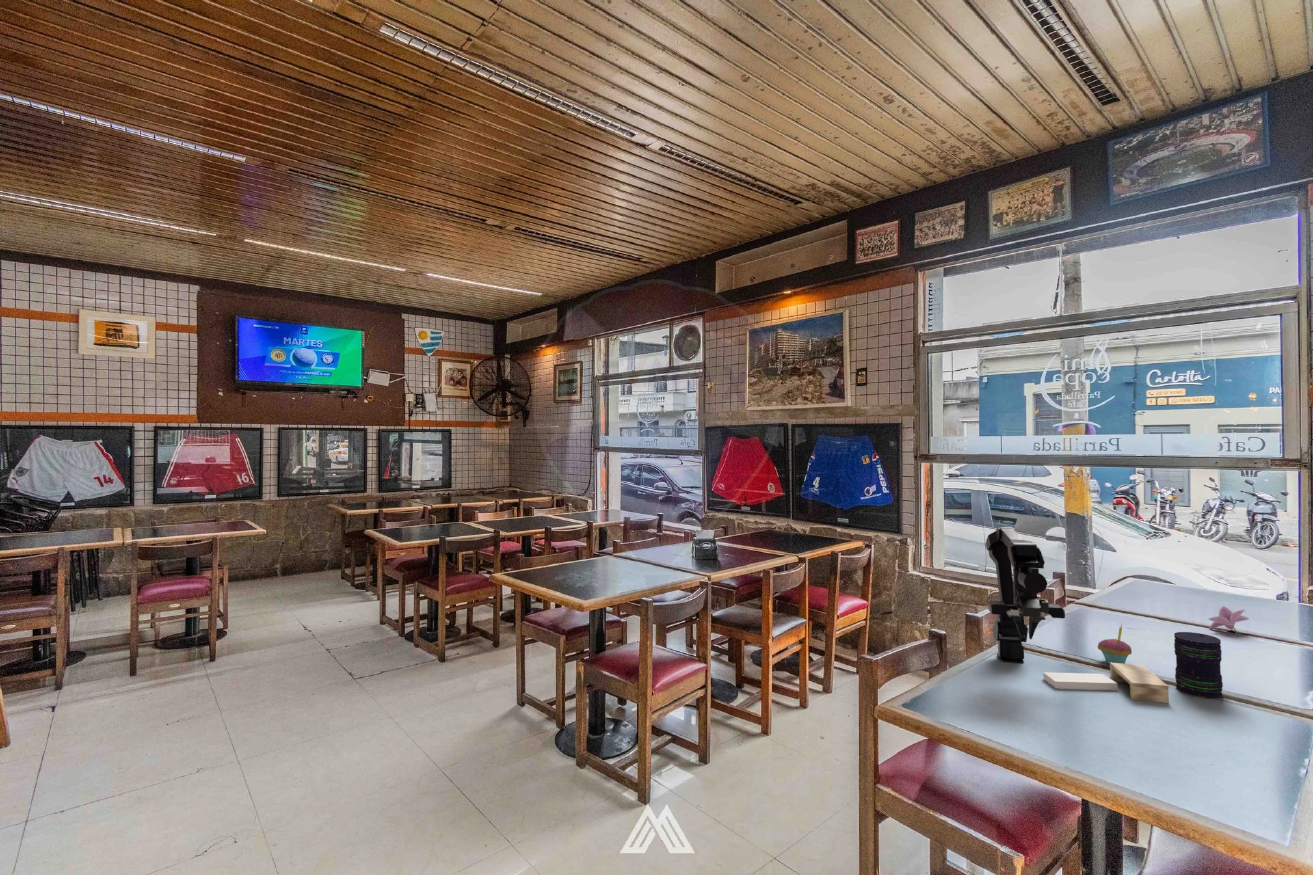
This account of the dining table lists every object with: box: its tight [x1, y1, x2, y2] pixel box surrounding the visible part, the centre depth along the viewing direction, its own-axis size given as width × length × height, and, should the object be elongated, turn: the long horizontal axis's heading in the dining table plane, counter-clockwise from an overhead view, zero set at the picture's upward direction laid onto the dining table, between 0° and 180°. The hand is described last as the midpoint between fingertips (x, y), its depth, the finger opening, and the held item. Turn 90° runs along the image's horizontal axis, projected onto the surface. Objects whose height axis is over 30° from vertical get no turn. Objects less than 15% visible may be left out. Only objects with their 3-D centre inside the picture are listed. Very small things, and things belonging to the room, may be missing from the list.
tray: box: [1042, 671, 1118, 691], centre depth 176 cm, size 16×7×2 cm, turn 83°
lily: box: [1207, 605, 1250, 637], centre depth 219 cm, size 12×12×10 cm
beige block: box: [1109, 663, 1170, 704], centre depth 171 cm, size 8×16×4 cm, turn 161°
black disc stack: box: [1173, 631, 1224, 700], centre depth 169 cm, size 10×10×15 cm
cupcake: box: [1097, 624, 1133, 664], centre depth 193 cm, size 9×8×12 cm
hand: (1026, 638), depth 180 cm, fingers closed
